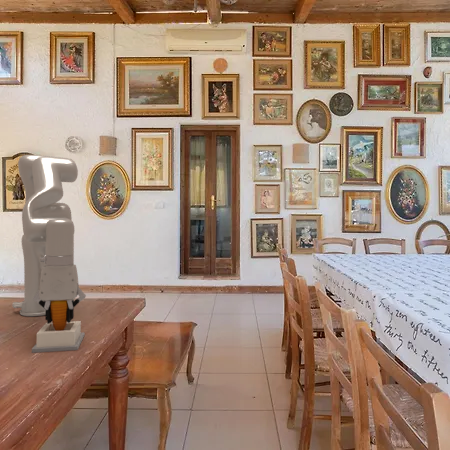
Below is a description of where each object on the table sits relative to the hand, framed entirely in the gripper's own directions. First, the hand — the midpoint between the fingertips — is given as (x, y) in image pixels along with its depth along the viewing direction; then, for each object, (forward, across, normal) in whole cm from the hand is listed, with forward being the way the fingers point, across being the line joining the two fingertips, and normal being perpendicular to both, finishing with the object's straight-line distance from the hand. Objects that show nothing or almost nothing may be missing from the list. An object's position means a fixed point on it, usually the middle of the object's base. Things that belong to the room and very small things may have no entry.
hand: (59, 321), depth 107 cm
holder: (+7, 0, 0) cm, 7 cm away
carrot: (+5, 0, 0) cm, 5 cm away
